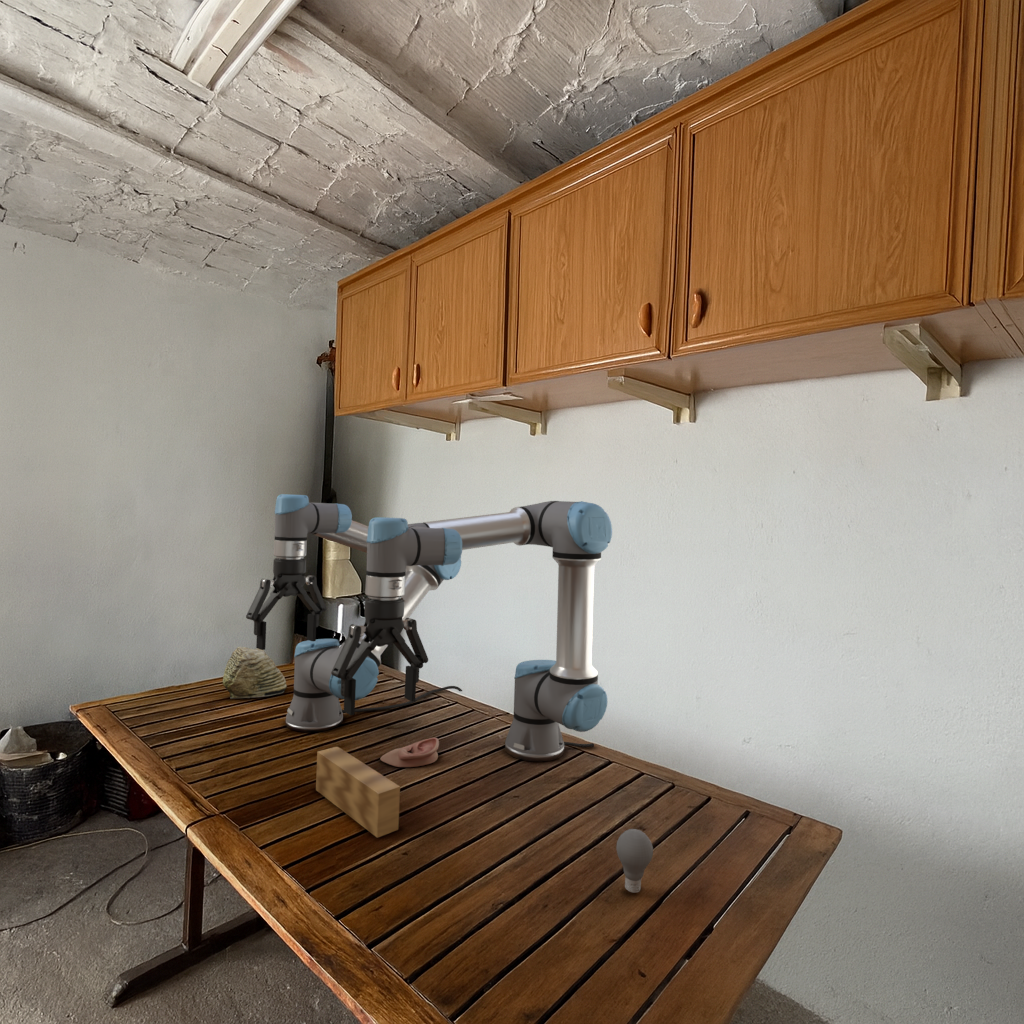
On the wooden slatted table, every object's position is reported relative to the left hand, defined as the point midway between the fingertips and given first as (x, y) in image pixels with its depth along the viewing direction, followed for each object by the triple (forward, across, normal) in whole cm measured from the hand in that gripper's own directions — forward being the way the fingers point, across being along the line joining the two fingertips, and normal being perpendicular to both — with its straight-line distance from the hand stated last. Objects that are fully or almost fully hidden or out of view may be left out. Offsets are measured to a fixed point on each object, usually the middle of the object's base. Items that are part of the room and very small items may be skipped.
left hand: (286, 644), depth 154 cm
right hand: (+4, -6, -43) cm, 43 cm away
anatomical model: (+27, +20, -24) cm, 41 cm away
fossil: (+27, +18, +46) cm, 56 cm away
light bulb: (+27, +9, -90) cm, 95 cm away
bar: (+27, -5, -35) cm, 44 cm away
